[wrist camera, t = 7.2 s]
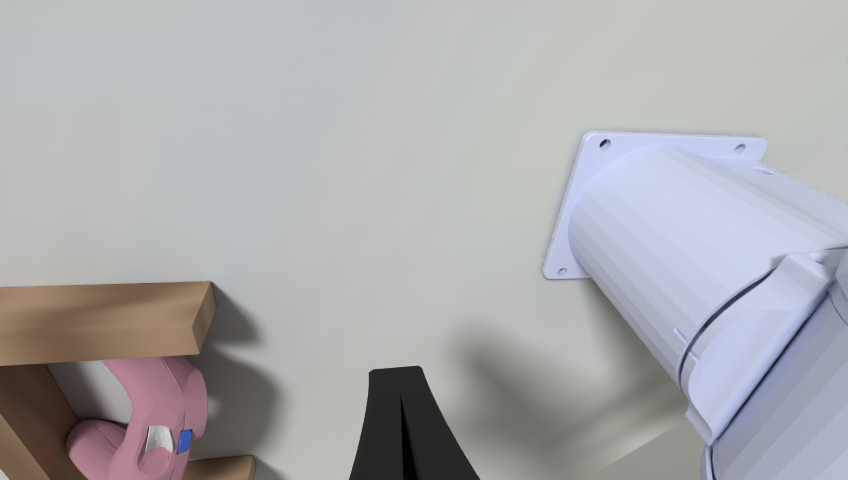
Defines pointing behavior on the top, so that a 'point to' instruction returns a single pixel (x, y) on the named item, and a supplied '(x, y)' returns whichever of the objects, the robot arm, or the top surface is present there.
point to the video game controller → (145, 423)
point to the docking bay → (86, 341)
